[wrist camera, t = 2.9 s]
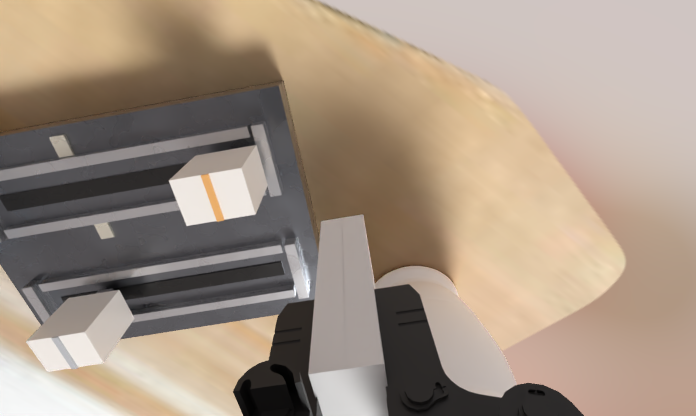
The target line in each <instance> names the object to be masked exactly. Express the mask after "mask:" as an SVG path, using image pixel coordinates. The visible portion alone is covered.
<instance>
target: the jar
mask: <svg viewBox="0 0 696 416" xmlns="http://www.w3.org/2000/svg"><path fill="white" fill-rule="evenodd" d="M405 284H409V285H410V286H411V287H413V288H414V289H415V290H416V291H417V292H418V293H419V294H420V297H421V300H422V303H423V307H424V311H425V313H426V316H427V320H428V323H429V326H430V329H431V333H432V336H433V339H434V342H435V346H436V349H437V352H438V355H439V359H440V362H441V365H442V368H443V370H444V372H445V374H446V375H447V376H448V377H449V379H450V380H451V381H452V382H454V383H455V384H456V385H458V386H459V387H461V388H463V389H465V390H467V391H469V392H473V393H477V394H482V395H488V396H494V397H500V398H502V397H503V395H504V393H505V392H506V391H507V390H509V389H510V388H512V387H513V386H515V385H517V383H516V380H515V378H514V375H513V373H512V371H511V368H510V366H509V364H508V362H507V360H506V358H505V356H504V354H503V353H502V351H501V349H500V347H499V346H498V344H497V343H496V341H495V340H494V338H493V337H492V335H491V334H490V333H489V331H488V330H487V329H486V327H485V326H484V325H483V324H482V323H481V321H480V320H479V319H478V318H477V316H476V315H475V313H474V312H473V311H472V310H471V308H470V307H469V306H468V305H467V304H466V303H465V302H464V301H463V300H462V299H461V298H460V297H459V296H458V292H457V289H456V287H455V285H454V284H453V282H452V281H451V280H450V279H449V278H448V277H447V276H446V275H444V274H443V273H441V272H440V271H438V270H435V269H432V268H429V267H424V266H407V267H402V268H398V269H396V270H393V271H391V272H389V273H387V274H385V275H384V276H383V277H381V278H380V279H379V280H378V281H377V282H376V283H375V289H379V288H386V287H392V286H399V285H405Z"/></svg>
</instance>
